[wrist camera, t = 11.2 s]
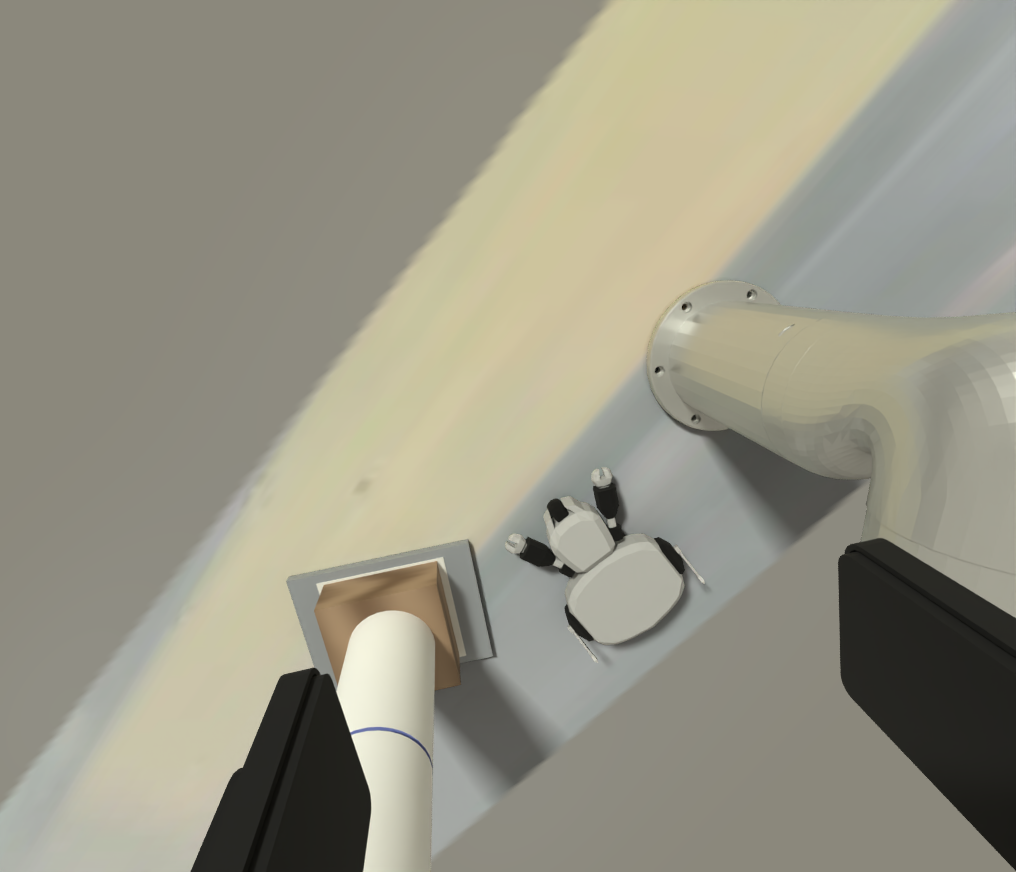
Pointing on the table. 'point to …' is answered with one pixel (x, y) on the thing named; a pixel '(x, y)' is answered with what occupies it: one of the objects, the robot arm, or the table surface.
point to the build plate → (448, 556)
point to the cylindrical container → (393, 734)
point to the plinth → (390, 592)
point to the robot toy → (606, 567)
